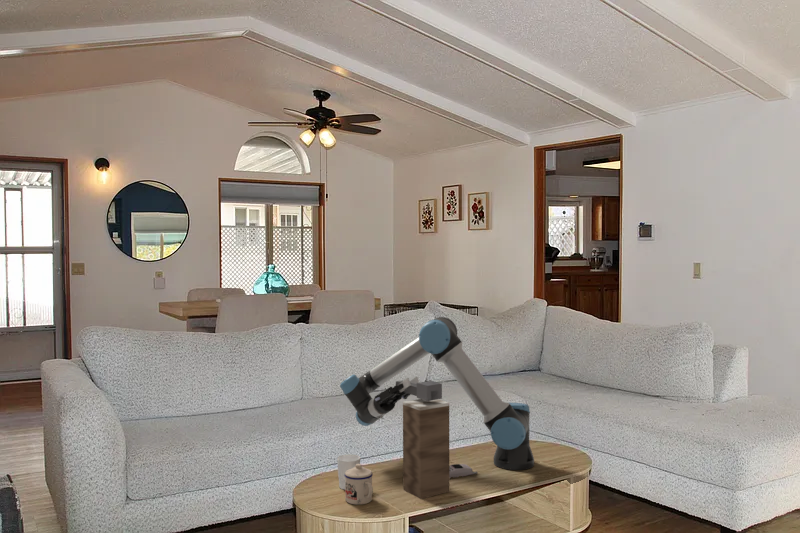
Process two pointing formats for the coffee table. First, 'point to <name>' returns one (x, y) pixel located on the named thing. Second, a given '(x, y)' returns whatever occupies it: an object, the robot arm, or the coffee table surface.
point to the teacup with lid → (358, 485)
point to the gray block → (424, 390)
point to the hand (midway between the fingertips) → (413, 381)
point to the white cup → (346, 467)
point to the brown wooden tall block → (425, 447)
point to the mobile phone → (460, 470)
